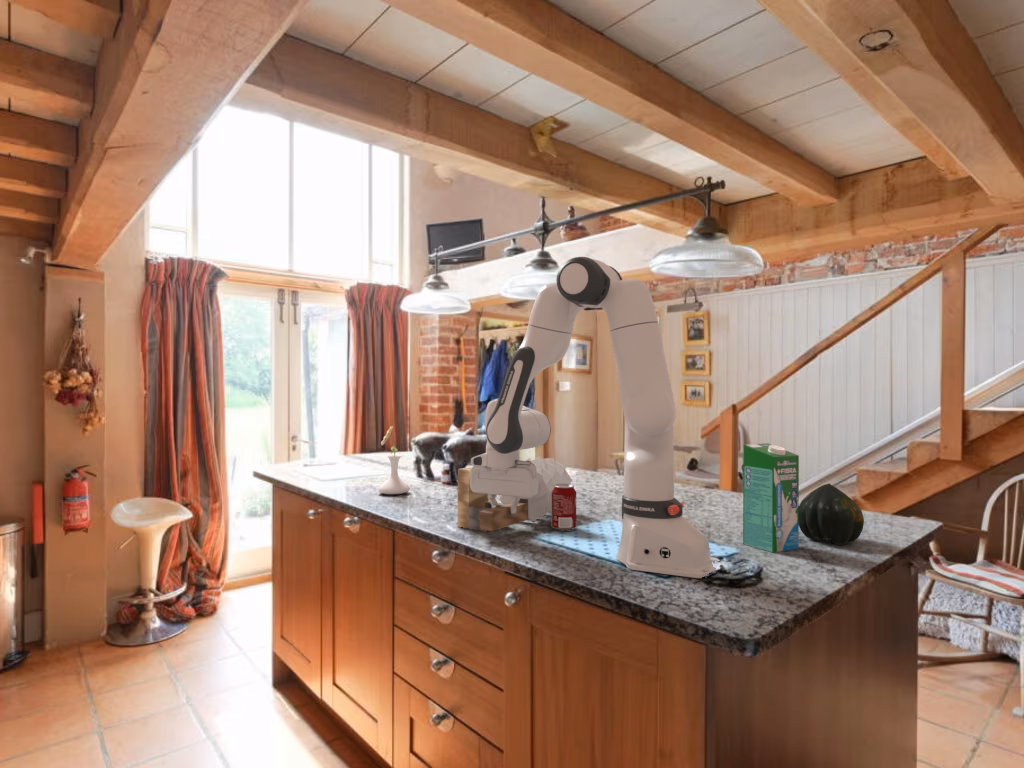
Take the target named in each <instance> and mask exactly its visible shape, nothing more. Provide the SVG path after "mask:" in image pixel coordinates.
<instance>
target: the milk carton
mask: <svg viewBox="0 0 1024 768" xmlns="http://www.w3.org/2000/svg"><path fill="white" fill-rule="evenodd" d="M799 458H800V456H799V454H796V453H794V452H791V451H789V450H787V448H786V447H783V446H779V445H776V444H771V443H769V442H767V443H751V444H750V443H749V444H748V443H746V444H743V465H742V467H743V469H742V470H743V472H742V473H743V475H742V476H743V480H742V483H743V484H742V485H743V487H742V488H743V491H742V492H743V493H742V495H743V496H742V500H743V501H742V502H743V503H742V506H743V507H742V509H743V513H742V515H743V517H742V519H743V520H742V524H743V525H742V534H743V535H742V543H743V545H746V546H750V547H752V548H756V549H759V550H762V551H766V552H769V553H774V554H775V553H780V552H786V551H790V550H791V551H792V550H796V549H799V546H800V543H799V541H800V540H799V537H800V536H799V533H800V532H799V531H800V530H799V529H800V527H799V505H800V503H799V499H800V498H799V493H800V489H799V486H800V484H799V482H800V481H799V480H800V475H799V473H800V469H799V467H800V466H799V465H800V459H799Z"/></svg>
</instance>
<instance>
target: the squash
mask: <svg viewBox="0 0 1024 768" xmlns="http://www.w3.org/2000/svg"><path fill="white" fill-rule="evenodd" d="M864 523H865V519H864V515H863V512H862V509H861V507H860V506H859V505H858V504H857V502H856V501H854V500H853V499H852V498H851V497H850V496H848V495H847V494H846V493H844V492H843V491H842V490H841V489H839V488H838V487H836V486H835V485H832V484H831V483H825V484H823V485H821V486H819V487H817V488H815V489H813V490H812V491H810V492H809V493H808V494H807V495H806V496H805V497H804V498H803V499H802V500H801V502H800V503H799V529H800V530H799V531H800V532H801V533H802V535H804V536H805V537H806V538H808V539H809V540H813V541H820V540H821V541H822V540H824V539H825V540H826V541H827V540H828V541H829V540H831V541H832V543H833V544H835V545H838V546H842V545H845V544H849V543H852V542H855V541H856V540H858V538H860V536H861V535H862V532H863V529H864Z"/></svg>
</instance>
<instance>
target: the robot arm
mask: <svg viewBox="0 0 1024 768" xmlns="http://www.w3.org/2000/svg"><path fill="white" fill-rule="evenodd" d="M583 310H584V311H585V312H586V311H594V310H603V311H604V312H605V315H606V318H607V322H608V327H609V333H610V340H611V344H612V345H611V346H612V351H613V357H614V363H615V367H616V369H615V370H616V374H617V381H618V387H619V388H618V389H619V394H620V395H619V396H620V399H621V400H620V401H621V405H622V406H621V407H622V413H623V417H624V449H623V450H624V455H623V456H624V457H623V460H624V461H623V473H624V474H623V495H622V496H621V518H622V529H621V536H620V541H619V546H618V551H617V553H616V556H615V557H616V560H617V561H618V562H621V563H622V564H624V565H625V567H626V568H627V569H629V570H634V571H639V572H648V573H654V574H664V575H671V576H677V577H679V576H680V577H686V578H694V579H703V578H702V577H704V576H705V575H707V574H709V573H711V572H712V571H714V570H715V569H716V568H714V567H713V565H712V561H720V562H721V560H720V559H718V558H716V557H713V556H711V549H710V543H709V540H708V537H707V536H706V534H704V533H703V532H702V531H700V530H699V529H698V528H697V527H696V526H695V525H693V524H692V523H691V522H690V521H689V520H688V519H686V518H685V517H684V516H683V510H684V509H683V508H685V501H683V502H680V501H679V500H678V499H677V498H675V455H674V454H675V453H674V450H675V449H674V447H675V446H674V423H675V421H676V415H677V410H676V404H675V399H674V393H673V390H672V388H673V387H672V383H671V379H670V375H669V371H668V365H667V361H666V357H665V351H664V345H663V340H662V336H661V329H660V323H659V319H658V318H659V317H658V314H657V310H656V305H655V302H654V299H653V297H652V294H651V292H650V289H649V286H648V285H647V284H646V283H645V282H644V281H643V280H641V279H637V278H626V279H623V277H622V275H621V274H620V273H619V272H618V270H616V269H615V268H614V267H613V266H611V265H608V264H606V263H605V262H604V261H601V260H598V259H594V258H590V257H589V256H588V257H587V256H575V257H572V258H570V259H568V260H566V261H565V262H564V263H562V265H561V266H560V268H559V269H558V272H557V274H556V282H550V283H546V284H544V285H543V286H541V287H540V288H539V290H538V292H537V295H536V297H535V300H534V303H533V306H532V308H531V311H530V314H529V318H528V322H527V323H528V324H527V328H526V331H525V334H524V337H523V340H522V342H521V344H520V345H519V348H518V349H517V350H516V351H515V353H514V354H513V355H512V358H511V360H510V363H509V366H508V369H507V372H506V375H505V378H504V381H503V384H502V388H501V390H500V393H499V396H498V398H494V399H492V400H490V401H489V402H488V403H487V406H486V409H485V410H486V411H485V420H484V421H485V424H484V425H485V427H484V428H485V429H484V430H485V434H486V435H485V436H486V444H485V452H484V453H482V454H479V455H476V456H473V457H471V458H470V464H471V467H472V468H471V471H470V488H471V490H472V492H476V493H485V494H488V499H489V502H490V503H491V505H492V508H494V507H498V506H500V504H501V503H500V504H497V503H498V501H497V499H496V498H497V496H502V495H504V496H511V500H512V501H513V502H512V504H511V506H508V513H512V514H514V513H516V506H517V505H518V503H519V501H520V497H523V498H532V497H535V496H537V494H538V481H537V475H536V466H535V465H534V464H533V463H532V462H531V461H526V460H522V459H520V458H521V457H520V451H521V450H522V451H523V450H529V449H534V448H537V447H541V446H543V445H545V444H546V443H547V442H548V441H549V438H550V437H551V433H552V432H551V431H552V430H551V427H552V426H551V423H550V419H549V418H548V416H547V415H546V414H545V413H544V412H542V411H540V410H536V409H533V408H531V407H528V406H525V405H524V403H525V400H526V397H527V394H528V391H529V388H530V385H531V383H532V382H533V380H534V379H535V377H537V375H538V374H540V373H541V372H543V371H544V370H545V369H547V368H550V367H552V366H554V365H555V364H557V363H559V362H560V361H561V360H563V359H564V357H565V355H566V353H567V352H568V349H569V347H570V344H571V338H572V335H573V330H574V325H575V322H576V318H577V316H578V314H579V313H580V312H581V311H583ZM531 464H532V465H531ZM713 563H715V562H713Z"/></svg>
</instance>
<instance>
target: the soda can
mask: <svg viewBox="0 0 1024 768" xmlns="http://www.w3.org/2000/svg"><path fill="white" fill-rule="evenodd" d="M551 528H553V529H554V530H556V531H558V530H560V531H559V532H568V531H567V530H571V531H573V530H574V529H576V528H577V491H576V489H575V485H574V484H555V485H554V489H553V490H552V513H551Z"/></svg>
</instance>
